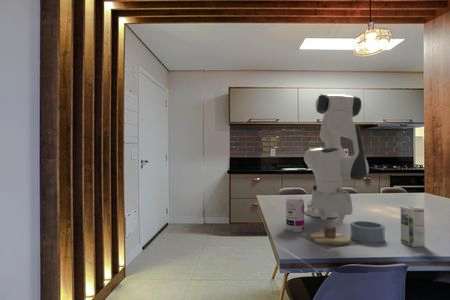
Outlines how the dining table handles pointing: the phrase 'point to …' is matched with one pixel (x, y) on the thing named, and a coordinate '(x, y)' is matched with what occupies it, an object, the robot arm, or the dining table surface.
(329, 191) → the robot arm
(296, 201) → the supplement can
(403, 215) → the syrup box
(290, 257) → the dining table surface
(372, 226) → the slate bowl
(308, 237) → the charcoal mat
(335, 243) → the birch lid
